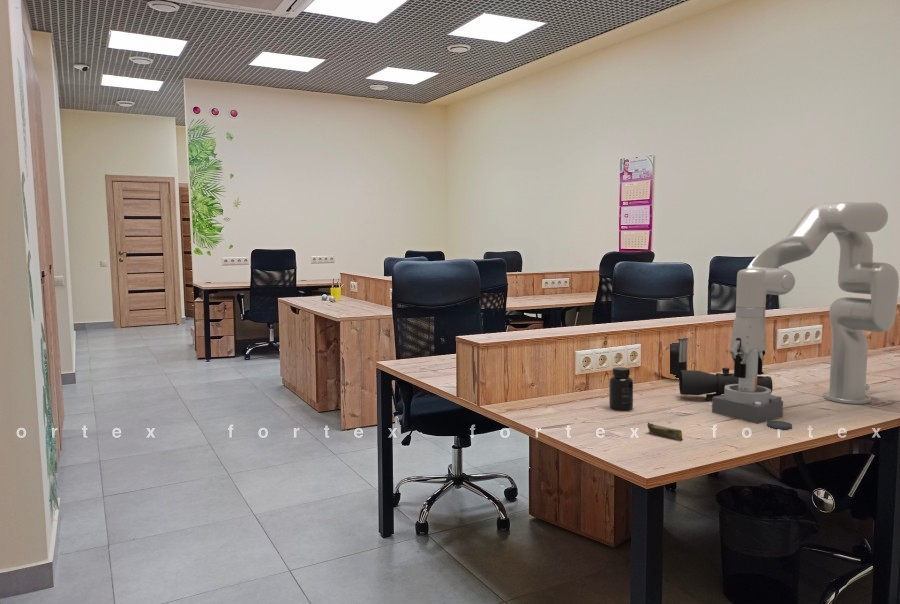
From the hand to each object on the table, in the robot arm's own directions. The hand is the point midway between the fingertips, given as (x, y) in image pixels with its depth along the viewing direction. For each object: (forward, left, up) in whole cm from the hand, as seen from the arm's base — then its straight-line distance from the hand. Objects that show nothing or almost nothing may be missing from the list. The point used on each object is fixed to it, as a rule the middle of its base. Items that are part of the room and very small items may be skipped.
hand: (748, 375), depth 185 cm
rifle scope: (-10, -14, -12) cm, 21 cm away
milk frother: (-26, -41, -12) cm, 50 cm away
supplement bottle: (+24, -25, -12) cm, 37 cm away
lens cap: (+4, +12, -12) cm, 17 cm away
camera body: (0, 0, -11) cm, 11 cm away
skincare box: (0, 0, -4) cm, 4 cm away
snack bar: (+36, +1, -12) cm, 38 cm away
